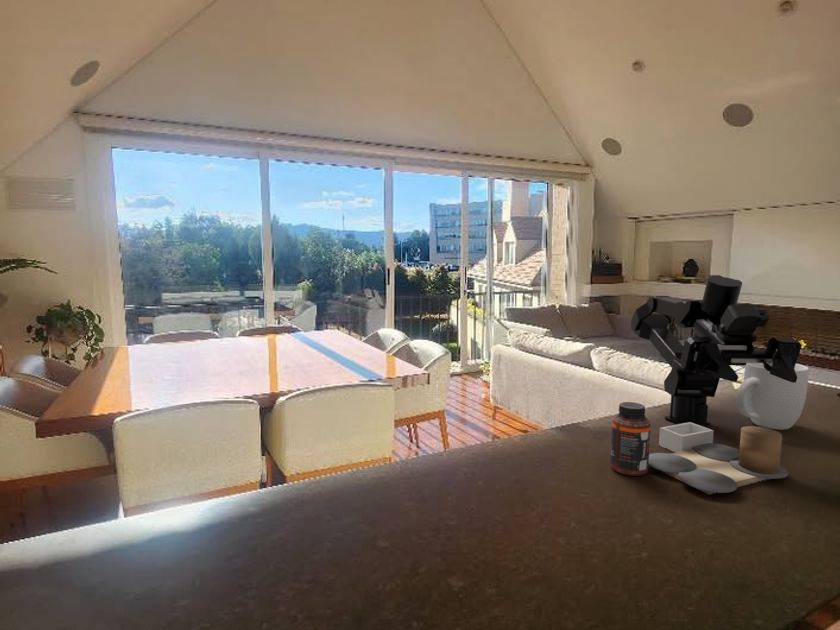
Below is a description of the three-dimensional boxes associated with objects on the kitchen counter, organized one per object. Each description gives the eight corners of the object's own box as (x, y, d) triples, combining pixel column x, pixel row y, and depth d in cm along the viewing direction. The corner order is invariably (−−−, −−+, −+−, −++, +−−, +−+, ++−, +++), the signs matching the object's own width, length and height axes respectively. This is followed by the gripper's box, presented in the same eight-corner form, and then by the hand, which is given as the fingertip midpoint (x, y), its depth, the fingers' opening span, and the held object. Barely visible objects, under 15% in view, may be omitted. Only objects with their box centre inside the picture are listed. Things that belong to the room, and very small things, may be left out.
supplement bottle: (654, 477, 82) (658, 410, 80) (617, 477, 82) (620, 410, 81) (639, 462, 88) (642, 399, 86) (604, 462, 88) (607, 399, 86)
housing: (658, 445, 95) (659, 427, 95) (689, 439, 99) (690, 422, 98) (681, 455, 91) (682, 436, 90) (712, 448, 94) (713, 430, 94)
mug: (762, 438, 99) (767, 373, 97) (714, 420, 109) (718, 362, 108) (816, 430, 103) (822, 368, 102) (765, 414, 114) (770, 357, 112)
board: (633, 463, 87) (635, 423, 86) (713, 446, 95) (716, 409, 94) (712, 503, 73) (715, 456, 73) (798, 479, 81) (803, 436, 80)
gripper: (677, 296, 93) (717, 335, 79) (782, 297, 92) (842, 336, 77) (666, 349, 97) (702, 394, 83) (766, 350, 96) (820, 396, 82)
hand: (765, 379), depth 81 cm, fingers open, 9 cm apart
